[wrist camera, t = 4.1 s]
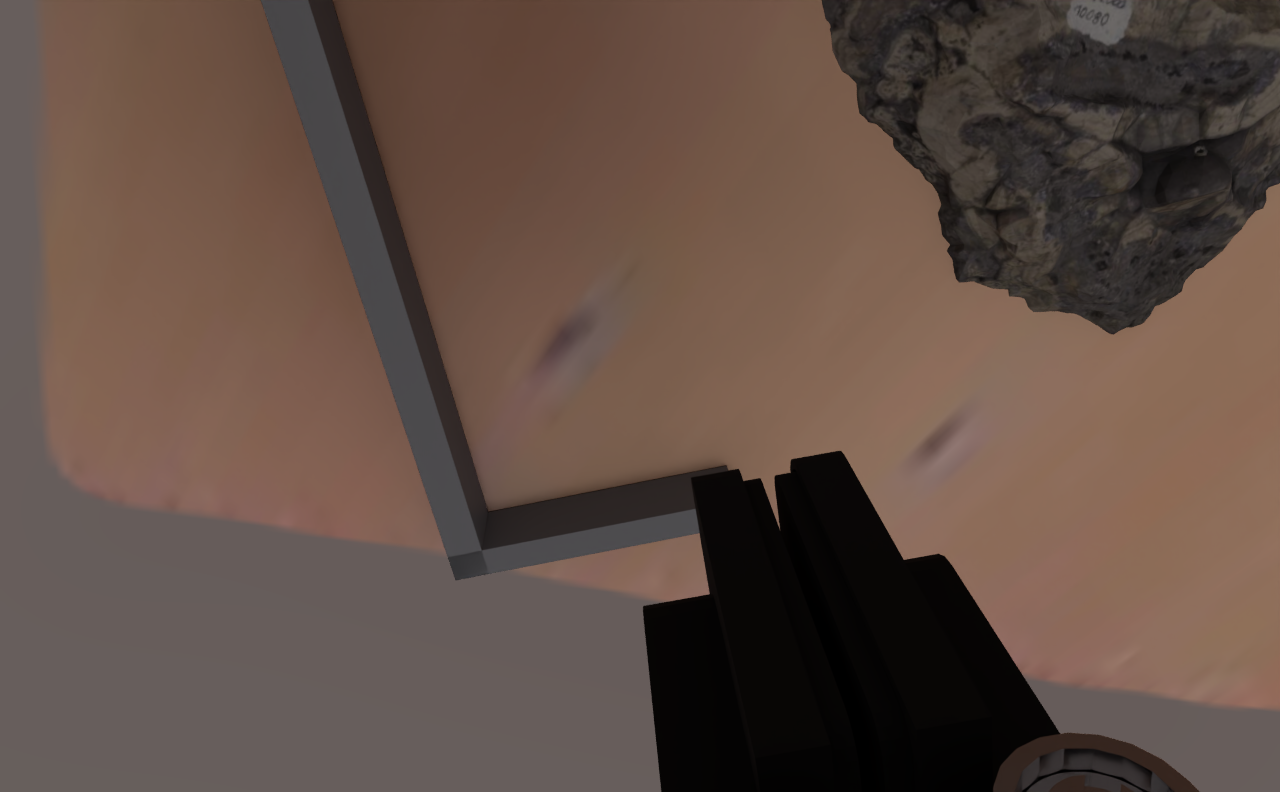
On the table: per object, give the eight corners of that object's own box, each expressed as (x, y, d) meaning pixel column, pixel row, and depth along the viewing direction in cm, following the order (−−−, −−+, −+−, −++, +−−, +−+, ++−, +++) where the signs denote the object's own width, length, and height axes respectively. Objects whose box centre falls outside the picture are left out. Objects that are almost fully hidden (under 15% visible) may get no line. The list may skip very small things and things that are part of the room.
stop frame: (236, -161, 24) (202, -176, 22) (606, -240, 24) (609, -263, 22) (463, 540, 34) (455, 580, 32) (730, 488, 34) (741, 524, 32)
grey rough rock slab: (1224, 353, 33) (1455, -98, 27) (1299, 397, 30) (1583, -110, 24) (728, 251, 31) (866, -270, 25) (746, 285, 27) (912, -313, 21)
